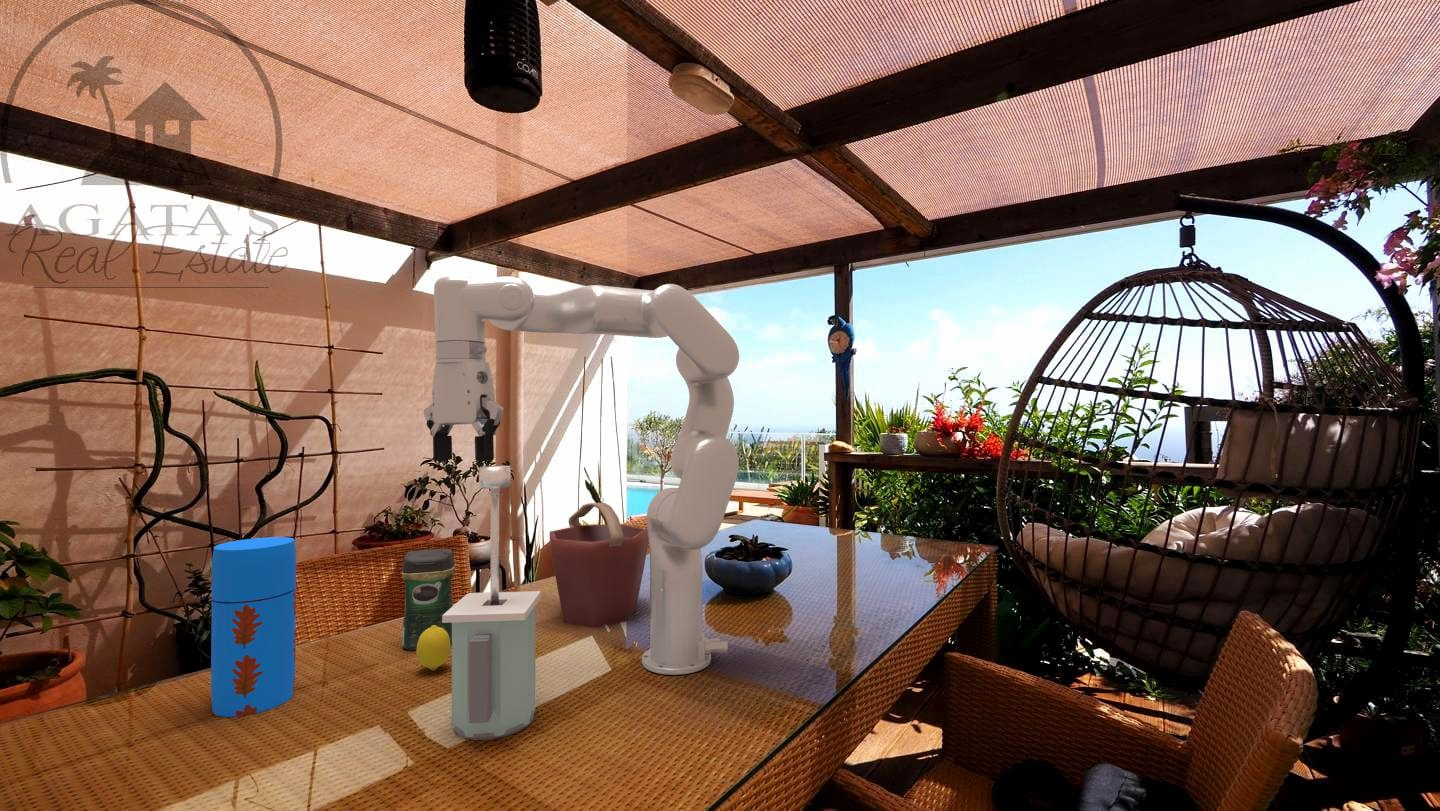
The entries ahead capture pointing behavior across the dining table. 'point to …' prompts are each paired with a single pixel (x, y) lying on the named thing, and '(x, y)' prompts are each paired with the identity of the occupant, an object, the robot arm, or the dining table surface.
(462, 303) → the robot arm
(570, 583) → the bucket
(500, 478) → the plunger
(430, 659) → the lemon
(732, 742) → the dining table surface
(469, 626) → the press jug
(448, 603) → the coffee jar
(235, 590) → the thermos
